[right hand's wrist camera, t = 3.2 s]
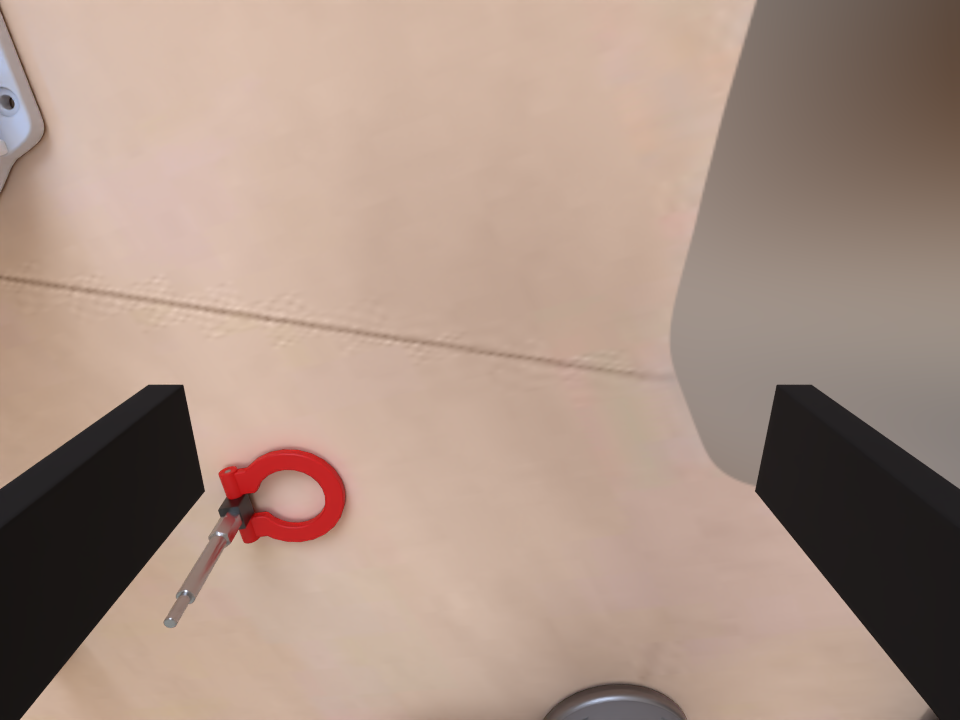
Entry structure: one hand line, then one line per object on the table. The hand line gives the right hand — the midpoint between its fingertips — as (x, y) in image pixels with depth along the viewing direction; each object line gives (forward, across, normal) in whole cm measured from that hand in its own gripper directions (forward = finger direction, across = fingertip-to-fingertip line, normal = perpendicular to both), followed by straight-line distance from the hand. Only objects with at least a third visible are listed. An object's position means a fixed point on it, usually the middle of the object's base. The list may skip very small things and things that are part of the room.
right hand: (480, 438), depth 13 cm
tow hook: (+28, +16, +20) cm, 38 cm away
